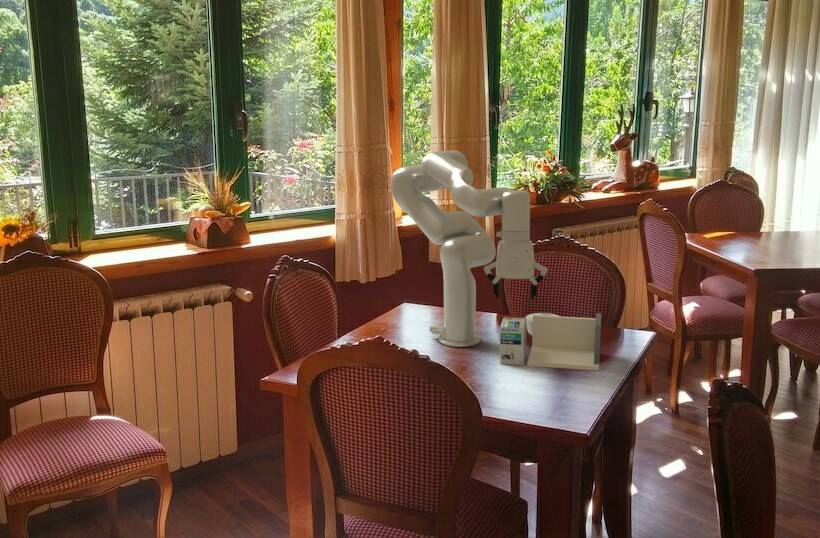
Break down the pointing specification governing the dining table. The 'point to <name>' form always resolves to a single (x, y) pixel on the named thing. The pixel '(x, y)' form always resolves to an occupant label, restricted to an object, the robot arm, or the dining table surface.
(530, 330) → the ramekin
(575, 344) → the cream open angled stand
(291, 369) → the dining table surface
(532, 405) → the dining table surface
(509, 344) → the light bulb box
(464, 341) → the robot arm
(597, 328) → the bookend
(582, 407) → the dining table surface
